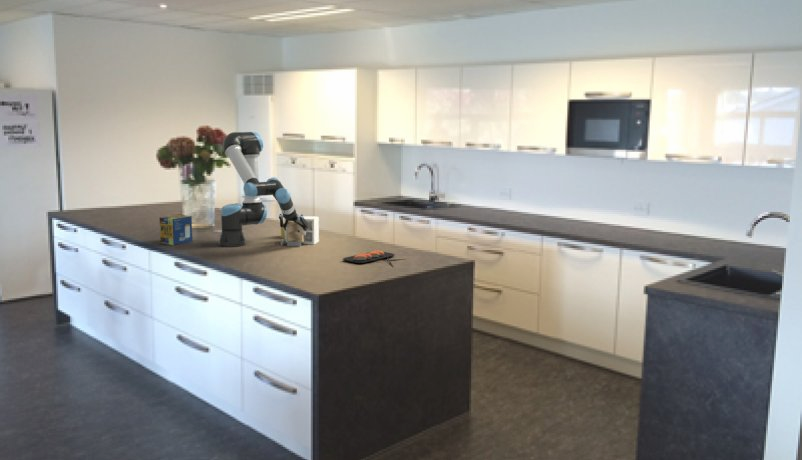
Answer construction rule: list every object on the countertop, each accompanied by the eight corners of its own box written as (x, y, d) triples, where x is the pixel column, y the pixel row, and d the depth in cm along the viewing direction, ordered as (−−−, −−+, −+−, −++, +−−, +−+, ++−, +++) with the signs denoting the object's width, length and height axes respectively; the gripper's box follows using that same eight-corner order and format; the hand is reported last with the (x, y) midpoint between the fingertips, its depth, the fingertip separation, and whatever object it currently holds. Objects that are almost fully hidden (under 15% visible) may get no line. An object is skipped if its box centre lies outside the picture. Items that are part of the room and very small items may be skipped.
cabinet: (280, 245, 391) (280, 220, 388) (290, 240, 408) (289, 215, 405) (310, 246, 388) (310, 221, 385) (319, 241, 405) (318, 216, 403)
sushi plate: (377, 253, 374) (377, 247, 373) (419, 261, 355) (419, 254, 355) (340, 262, 352) (340, 255, 351) (383, 271, 333) (383, 263, 332)
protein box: (160, 243, 392) (158, 217, 389) (180, 239, 405) (179, 214, 403) (173, 245, 387) (172, 218, 384) (193, 241, 400) (192, 215, 398)
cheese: (301, 236, 422) (300, 220, 420) (296, 239, 411) (296, 223, 410) (284, 235, 423) (284, 220, 421) (280, 238, 412) (279, 222, 411)
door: (286, 242, 390) (286, 221, 388) (289, 240, 394) (288, 220, 392) (301, 242, 389) (301, 222, 387) (304, 241, 393) (303, 220, 391)
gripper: (268, 214, 376) (278, 237, 394) (305, 215, 373) (314, 239, 391) (271, 204, 380) (280, 227, 398) (308, 205, 377) (316, 228, 395)
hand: (297, 233), depth 394 cm, fingers closed on door, 9 cm apart
